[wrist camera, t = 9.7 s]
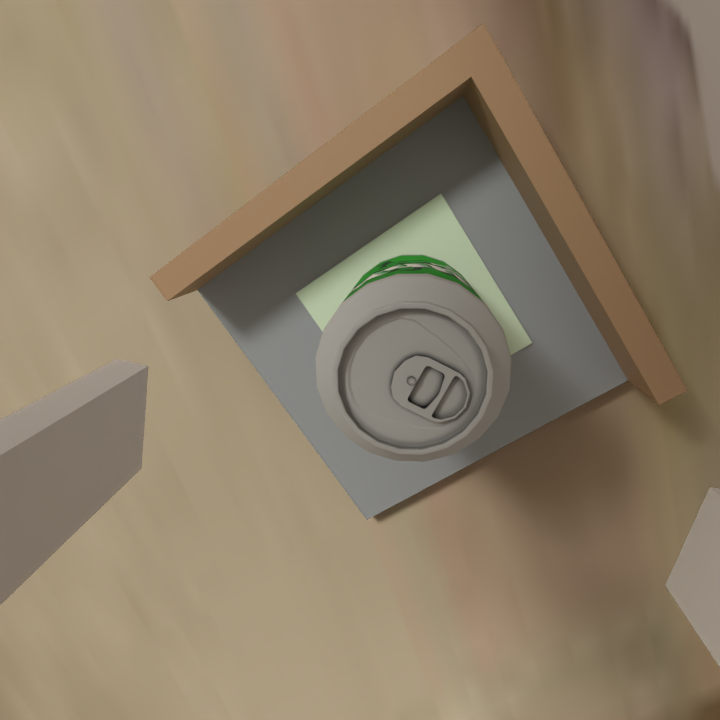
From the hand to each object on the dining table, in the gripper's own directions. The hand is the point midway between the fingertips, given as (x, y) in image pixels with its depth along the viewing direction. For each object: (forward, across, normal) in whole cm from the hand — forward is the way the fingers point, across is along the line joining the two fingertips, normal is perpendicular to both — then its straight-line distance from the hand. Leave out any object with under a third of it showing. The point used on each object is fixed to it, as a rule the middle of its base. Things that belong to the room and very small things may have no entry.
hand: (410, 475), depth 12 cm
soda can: (+19, 0, 0) cm, 19 cm away
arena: (+20, 0, 0) cm, 20 cm away
